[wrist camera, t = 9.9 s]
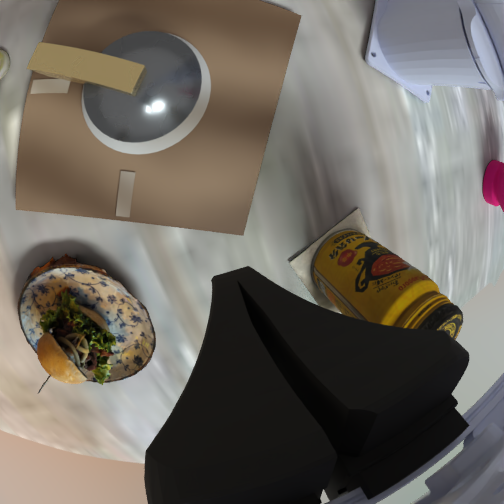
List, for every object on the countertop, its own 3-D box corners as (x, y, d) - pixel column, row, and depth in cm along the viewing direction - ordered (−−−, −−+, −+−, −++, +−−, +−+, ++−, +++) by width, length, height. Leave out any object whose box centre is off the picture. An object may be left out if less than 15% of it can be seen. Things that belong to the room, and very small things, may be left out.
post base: (72, -15, 8) (67, -22, 7) (296, 19, 14) (303, 13, 13) (20, 206, 14) (13, 211, 13) (240, 231, 20) (244, 237, 19)
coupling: (215, 62, 13) (228, 46, 10) (171, 154, 15) (172, 161, 12) (79, 22, 9) (62, 2, 6) (37, 114, 11) (9, 113, 8)
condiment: (357, 206, 22) (475, 276, 11) (383, 272, 26) (469, 344, 16) (288, 261, 22) (381, 371, 12) (327, 318, 26) (400, 409, 16)
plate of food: (152, 374, 24) (159, 442, 17) (38, 359, 19) (21, 422, 13) (161, 261, 19) (165, 330, 13) (15, 243, 15) (-34, 299, 9)
